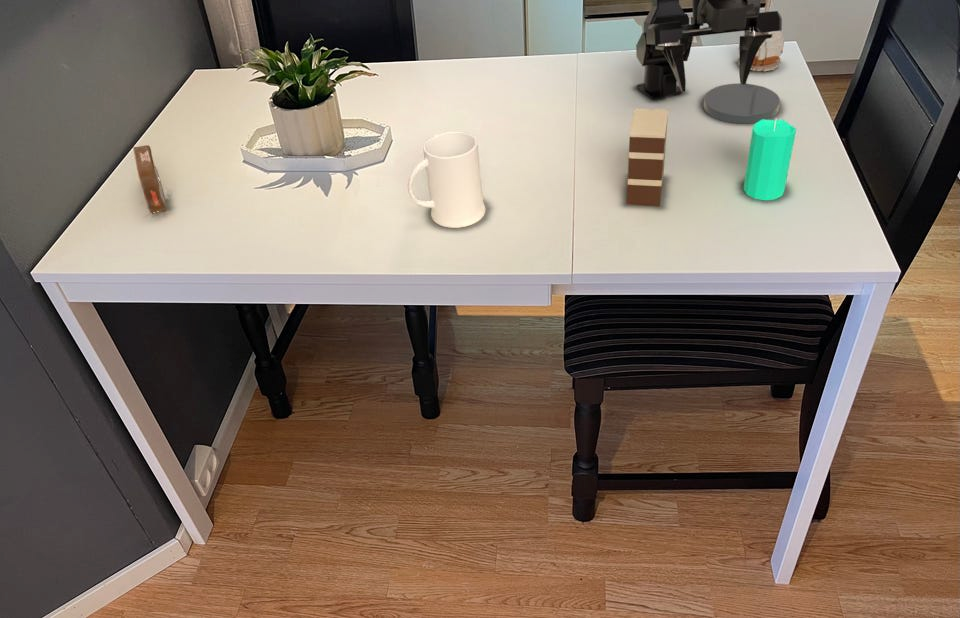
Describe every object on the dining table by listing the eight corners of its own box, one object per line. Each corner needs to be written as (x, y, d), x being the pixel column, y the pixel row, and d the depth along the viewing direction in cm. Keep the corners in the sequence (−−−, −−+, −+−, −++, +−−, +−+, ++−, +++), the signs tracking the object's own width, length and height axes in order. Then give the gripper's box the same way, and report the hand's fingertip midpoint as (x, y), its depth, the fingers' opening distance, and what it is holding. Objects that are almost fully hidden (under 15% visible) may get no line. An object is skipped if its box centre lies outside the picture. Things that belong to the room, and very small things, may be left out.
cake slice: (631, 177, 127) (634, 108, 119) (663, 179, 126) (668, 109, 118) (626, 204, 121) (629, 133, 114) (659, 206, 120) (665, 135, 112)
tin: (145, 182, 139) (127, 139, 134) (163, 177, 140) (146, 134, 135) (153, 223, 128) (134, 179, 123) (172, 218, 129) (155, 173, 124)
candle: (786, 201, 118) (800, 128, 111) (744, 199, 120) (755, 127, 112) (782, 180, 123) (796, 109, 115) (742, 178, 124) (753, 108, 116)
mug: (422, 240, 118) (410, 170, 111) (404, 212, 125) (392, 144, 117) (494, 218, 121) (488, 149, 114) (473, 192, 127) (466, 125, 120)
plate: (689, 100, 146) (690, 93, 145) (749, 85, 149) (750, 77, 148) (730, 130, 136) (731, 122, 135) (794, 112, 139) (795, 104, 138)
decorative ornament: (766, 54, 158) (778, -23, 149) (787, 69, 152) (801, -10, 143) (730, 61, 157) (740, -16, 147) (750, 76, 151) (762, -3, 142)
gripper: (663, -19, 107) (666, 99, 112) (799, -34, 107) (796, 84, 112) (643, -15, 117) (647, 93, 123) (767, -28, 118) (765, 80, 123)
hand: (713, 88), depth 120 cm, fingers open, 9 cm apart
